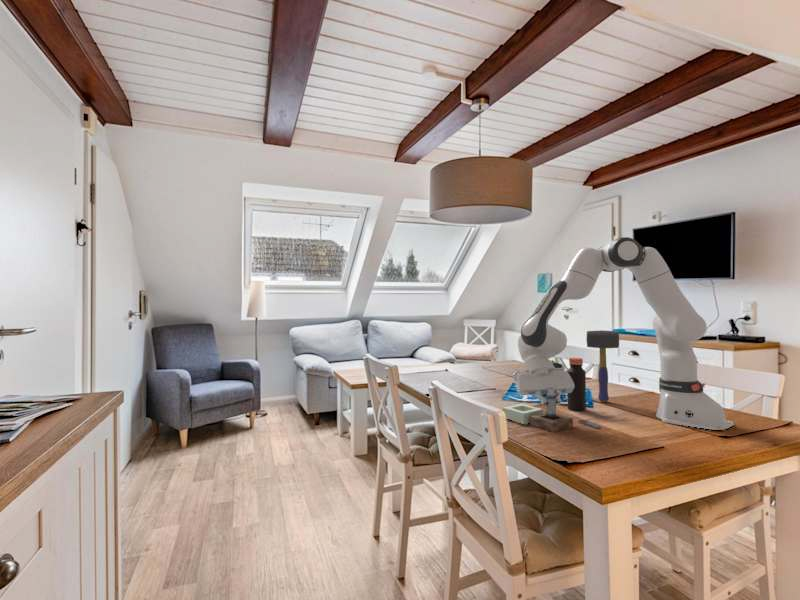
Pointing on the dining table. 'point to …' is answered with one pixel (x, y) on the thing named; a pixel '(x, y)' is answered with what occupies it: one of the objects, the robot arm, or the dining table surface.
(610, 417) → the dining table surface
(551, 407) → the drill bit
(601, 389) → the rubber mallet
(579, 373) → the bottle
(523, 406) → the rack block
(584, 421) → the drift key
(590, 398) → the dining table surface
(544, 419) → the socket block
